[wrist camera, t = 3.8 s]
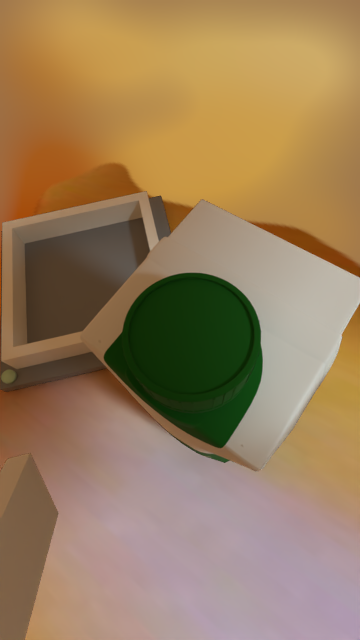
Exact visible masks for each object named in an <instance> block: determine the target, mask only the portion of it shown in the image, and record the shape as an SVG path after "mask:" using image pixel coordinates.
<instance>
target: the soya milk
mask: <svg viewBox="0 0 360 640" xmlns="http://www.w3.org/2000/svg"><path fill="white" fill-rule="evenodd" d="M359 304H360V278H359V277H357V276H355V275H353V274H351V273H349V272H347V271H345V270H343V269H341V268H339V267H337V266H335V265H333V264H331V263H329V262H327V261H325V260H323V259H321V258H319V257H317V256H315V255H313V254H311V253H309V252H307V251H305V250H303V249H301V248H299V247H297V246H295V245H293V244H291V243H289V242H287V241H285V240H283V239H281V238H279V237H277V236H275V235H273V234H271V233H269V232H267V231H265V230H263V229H261V228H259V227H257V226H255V225H253V224H251V223H249V222H247V221H245V220H243V219H241V218H239V217H237V216H235V215H233V214H231V213H229V212H227V211H225V210H223V209H221V208H219V207H217V206H215V205H213V204H211V203H209V202H207V201H205V200H203V199H202V200H201V201H200V202H199V203H198V204H197V205H196V206H195V207H194V208H193V209H192V210H191V212H190V213H189V214H188V215H187V216H186V217H185V218H184V219H183V221H182V222H181V223H180V224H179V225H178V226H177V227H176V228H175V230H174V231H173V232H172V233H171V234H170V235H169V236H168V237H163V238H162V239H161V240H160V241H159V242H158V243H157V244H156V245H155V247H154V248H153V249H152V250H151V251H150V252H149V254H148V255H147V258H146V259H145V260H144V261H143V262H142V263H141V265H140V266H139V267H138V268H137V269H136V270H135V271H134V273H133V274H132V275H131V276H130V277H129V278H128V279H127V281H126V282H125V283H124V284H123V285H122V286H121V288H120V289H119V290H118V291H117V292H116V293H115V294H114V296H113V297H112V298H111V299H110V300H109V301H108V302H107V304H106V305H105V306H104V307H103V308H102V309H101V310H100V312H99V313H98V314H97V315H96V316H95V317H94V319H93V320H92V321H91V322H90V323H89V324H88V325H87V327H86V328H85V329H84V330H83V331H82V332H81V334H80V339H81V340H82V342H83V343H84V344H85V345H86V346H87V347H88V348H89V349H90V350H91V351H92V352H93V353H94V354H95V355H96V357H97V358H98V359H99V360H100V361H101V362H102V363H103V364H104V365H105V366H106V367H107V368H108V369H109V371H110V372H111V373H112V374H113V375H114V376H115V377H116V378H117V379H118V380H119V382H120V383H121V384H122V385H123V386H124V387H125V388H126V389H127V390H128V391H129V393H130V394H131V395H132V396H133V397H134V398H135V399H136V400H137V401H138V402H139V404H140V405H141V406H142V407H143V408H144V409H145V410H146V411H147V412H148V413H149V414H150V415H151V416H152V417H153V418H154V419H155V420H156V421H157V422H158V423H159V424H160V425H161V426H162V427H163V428H164V429H166V430H167V431H168V432H169V433H170V434H171V435H172V436H173V437H175V438H176V439H177V440H178V441H180V442H181V443H182V444H184V445H185V446H187V447H188V448H190V449H191V450H193V451H195V452H196V453H198V454H201V455H203V456H206V457H209V458H212V459H215V460H218V461H221V462H224V463H225V462H227V461H229V460H230V461H233V462H235V463H238V464H240V465H242V466H245V467H247V468H250V469H252V470H254V471H259V470H261V469H263V468H264V466H265V465H266V464H267V462H268V461H269V459H270V458H271V456H272V455H273V454H274V453H275V451H276V450H277V449H278V448H279V446H280V445H281V444H282V443H283V441H284V440H285V439H286V437H287V436H288V435H289V433H290V432H291V431H292V429H293V428H294V426H295V425H296V423H297V421H298V420H299V418H300V416H301V415H302V413H303V412H304V410H305V408H306V406H307V405H308V403H309V401H310V400H311V398H312V396H313V395H314V393H315V391H316V390H317V389H318V387H319V386H320V384H321V383H322V381H323V379H324V378H325V376H326V374H327V373H328V371H329V369H330V367H331V366H332V364H333V362H334V360H335V358H336V355H337V353H338V350H339V346H340V343H341V340H342V336H341V335H342V333H343V331H344V330H345V328H346V326H347V324H348V323H349V321H350V319H351V317H352V316H353V314H354V312H355V310H356V309H357V307H358V305H359Z"/></svg>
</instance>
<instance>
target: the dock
mask: <svg viewBox="0 0 360 640" xmlns="http://www.w3.org/2000/svg"><path fill="white" fill-rule="evenodd" d="M170 234H171V231H170V228H169V224H168V220H167V216H166V213H165V209H164V205H163V201H162V198H161V196H157V197H152V198H148V195H147V191H144V192H140V193H135V194H131V195H126V196H122V197H117V198H113V199H108V200H103V201H99V202H94V203H90V204H85V205H81V206H76V207H72V208H67V209H63V210H58V211H53V212H49V213H44V214H40V215H35V216H31V217H26V218H22V219H17V220H13V221H8V222H3V223H2V251H1V253H2V254H1V356H0V390H3V391H6V392H8V391H12V390H16V389H21V388H25V387H29V386H33V385H38V384H42V383H46V382H50V381H55V380H59V379H63V378H67V377H72V376H76V375H80V374H85V373H89V372H93V371H97V370H102V369H106V368H107V367H106V366H105V365H104V364H103V363H102V362H101V361H100V360H99V359H98V358H97V357H96V355H95V354H94V353H93V352H92V351H91V350H90V349H89V348H88V347H87V346H86V345H85V344H84V343H83V342H82V340H81V339H80V334H81V332H82V331H83V330H84V329H85V328H86V327H87V325H88V324H89V323H90V322H91V321H92V320H93V319H94V317H95V316H96V315H97V314H98V313H99V312H100V310H101V309H102V308H103V307H104V306H105V305H106V304H107V302H108V301H109V300H110V299H111V298H112V297H113V296H114V294H115V293H116V292H117V291H118V290H119V289H120V288H121V286H122V285H123V284H124V283H125V282H126V281H127V279H128V278H129V277H130V276H131V275H132V274H133V273H134V271H135V270H136V269H137V268H138V267H139V266H140V265H141V263H142V262H143V261H144V260H145V259H146V258H147V255H148V254H149V252H150V251H151V250H152V249H153V248H154V247H155V245H156V244H157V243H158V242H159V241H160V240H161V239H162V238H163V237H168V236H169V235H170Z"/></svg>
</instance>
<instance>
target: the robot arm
mask: <svg viewBox="0 0 360 640" xmlns="http://www.w3.org/2000/svg"><path fill="white" fill-rule="evenodd" d="M57 516H58V511H57V509H56V507H55V505H54V502H53V500H52V498H51V496H50V494H49V492H48V490H47V487H46V485H45V483H44V481H43V479H42V477H41V475H40V472H39V470H38V468H37V466H36V464H35V462H34V460H33V458H32V455H31V453H28V454H24V455H20V456H16V457H12V458H8V459H7V460H6V462H5V464H4V466H3V468H2V470H1V471H0V640H25V636H26V633H27V629H28V625H29V621H30V618H31V614H32V610H33V606H34V603H35V599H36V595H37V591H38V588H39V584H40V580H41V576H42V573H43V569H44V565H45V561H46V558H47V554H48V550H49V546H50V543H51V539H52V535H53V531H54V528H55V524H56V520H57Z"/></svg>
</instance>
